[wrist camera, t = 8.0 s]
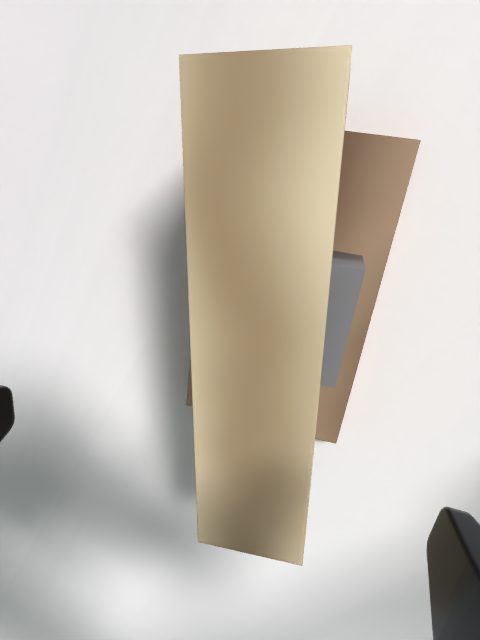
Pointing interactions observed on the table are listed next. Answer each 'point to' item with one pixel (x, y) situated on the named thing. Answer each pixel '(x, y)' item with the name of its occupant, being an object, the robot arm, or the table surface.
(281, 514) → the beam
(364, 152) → the fulcrum stand
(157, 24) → the table surface
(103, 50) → the table surface
